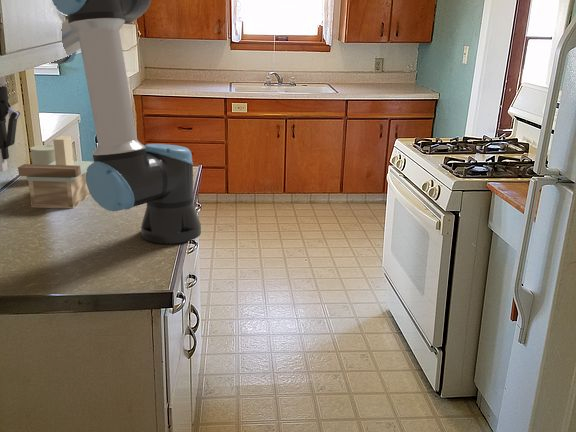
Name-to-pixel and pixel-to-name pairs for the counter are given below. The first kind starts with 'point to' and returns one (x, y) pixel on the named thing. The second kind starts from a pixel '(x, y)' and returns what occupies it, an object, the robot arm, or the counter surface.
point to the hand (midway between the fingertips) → (2, 170)
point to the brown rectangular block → (49, 170)
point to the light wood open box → (58, 193)
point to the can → (43, 154)
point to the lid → (63, 160)
